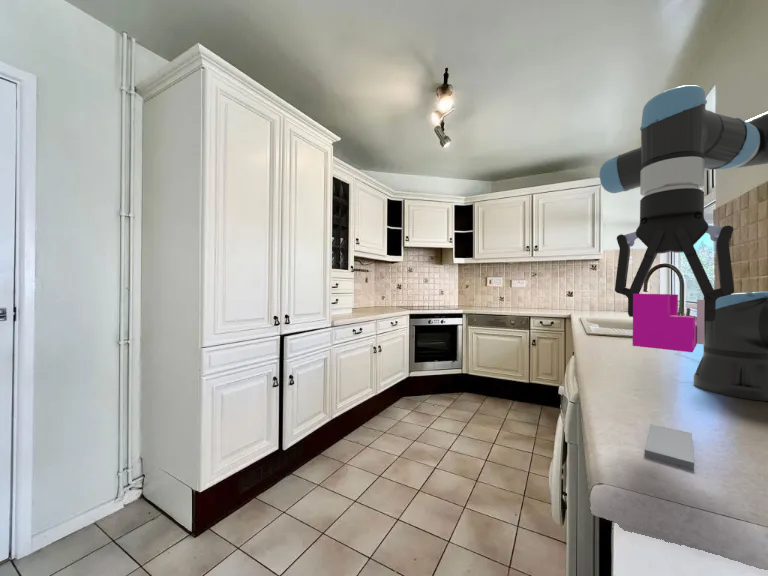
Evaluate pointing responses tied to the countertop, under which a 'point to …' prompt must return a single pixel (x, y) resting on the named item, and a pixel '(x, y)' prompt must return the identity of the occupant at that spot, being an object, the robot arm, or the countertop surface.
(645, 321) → the toy block
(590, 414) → the countertop surface
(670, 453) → the baseplate
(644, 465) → the countertop surface
